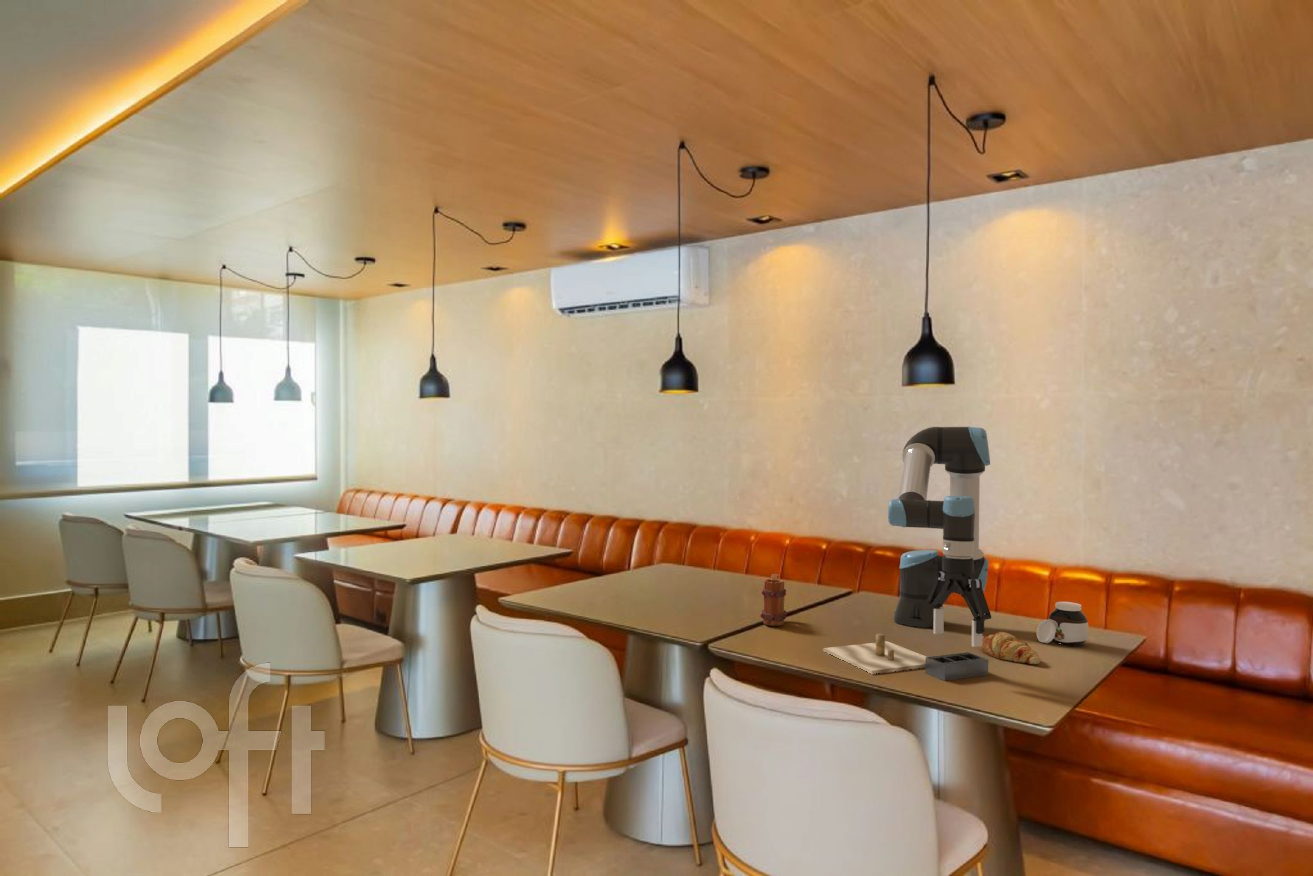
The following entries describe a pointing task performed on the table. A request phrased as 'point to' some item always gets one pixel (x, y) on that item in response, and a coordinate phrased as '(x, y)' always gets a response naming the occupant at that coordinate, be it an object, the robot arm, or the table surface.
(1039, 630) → the spread jar
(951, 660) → the grey compartment tray
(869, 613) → the table surface
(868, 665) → the mount board
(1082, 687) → the table surface
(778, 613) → the brown banded canister
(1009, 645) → the croissant
